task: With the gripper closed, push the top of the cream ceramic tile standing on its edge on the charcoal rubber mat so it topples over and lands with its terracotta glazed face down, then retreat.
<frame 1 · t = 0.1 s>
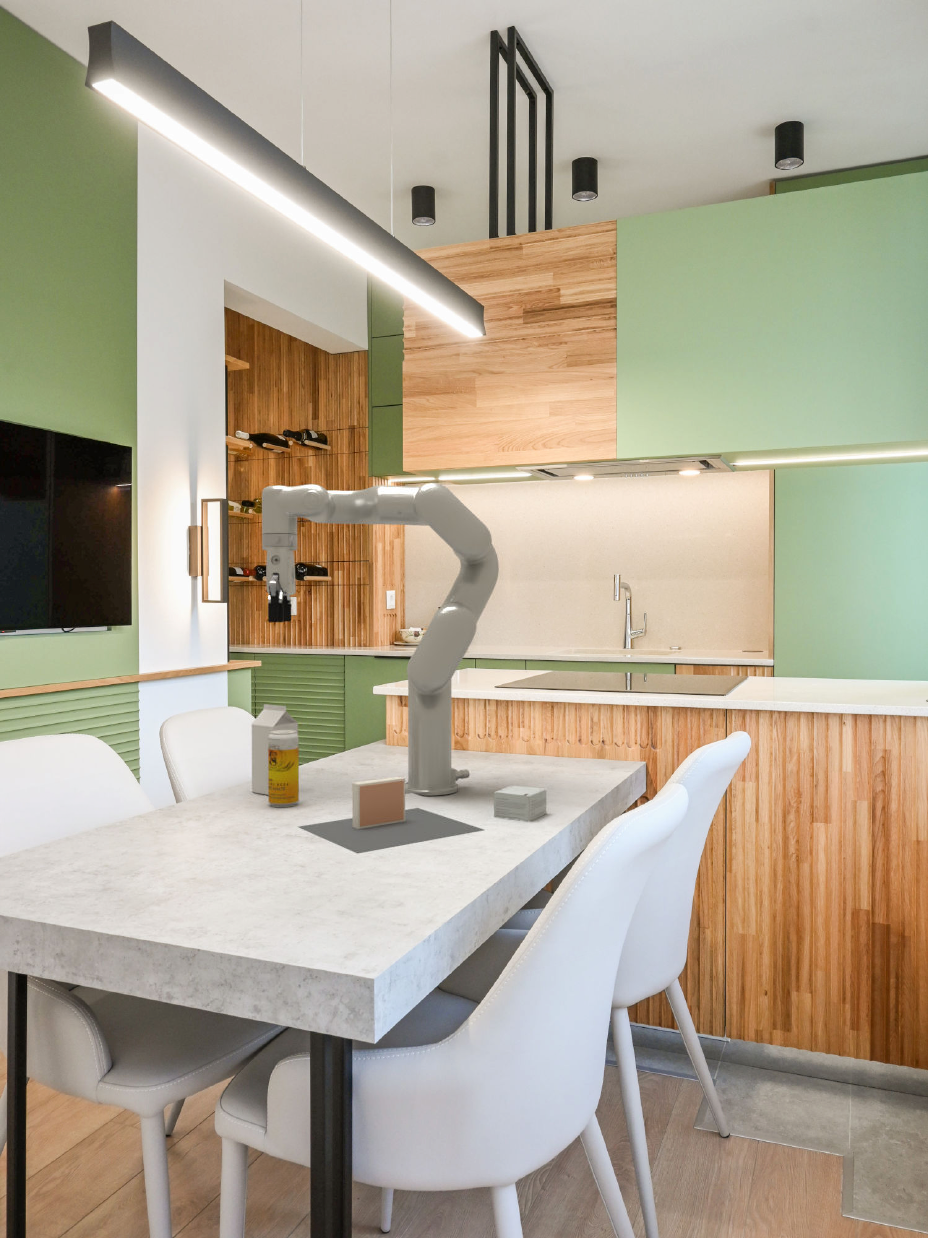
hand: (280, 621, 199), 37 cm above the table, tool pointing down, fingers open, 9 cm apart
tile: (379, 824, 167), point 1 cm above the table, touching mat
beer can: (283, 805, 186), on the table
milk carton: (275, 793, 199), on the table
small box: (520, 817, 177), on the table
mat: (390, 831, 164), on the table
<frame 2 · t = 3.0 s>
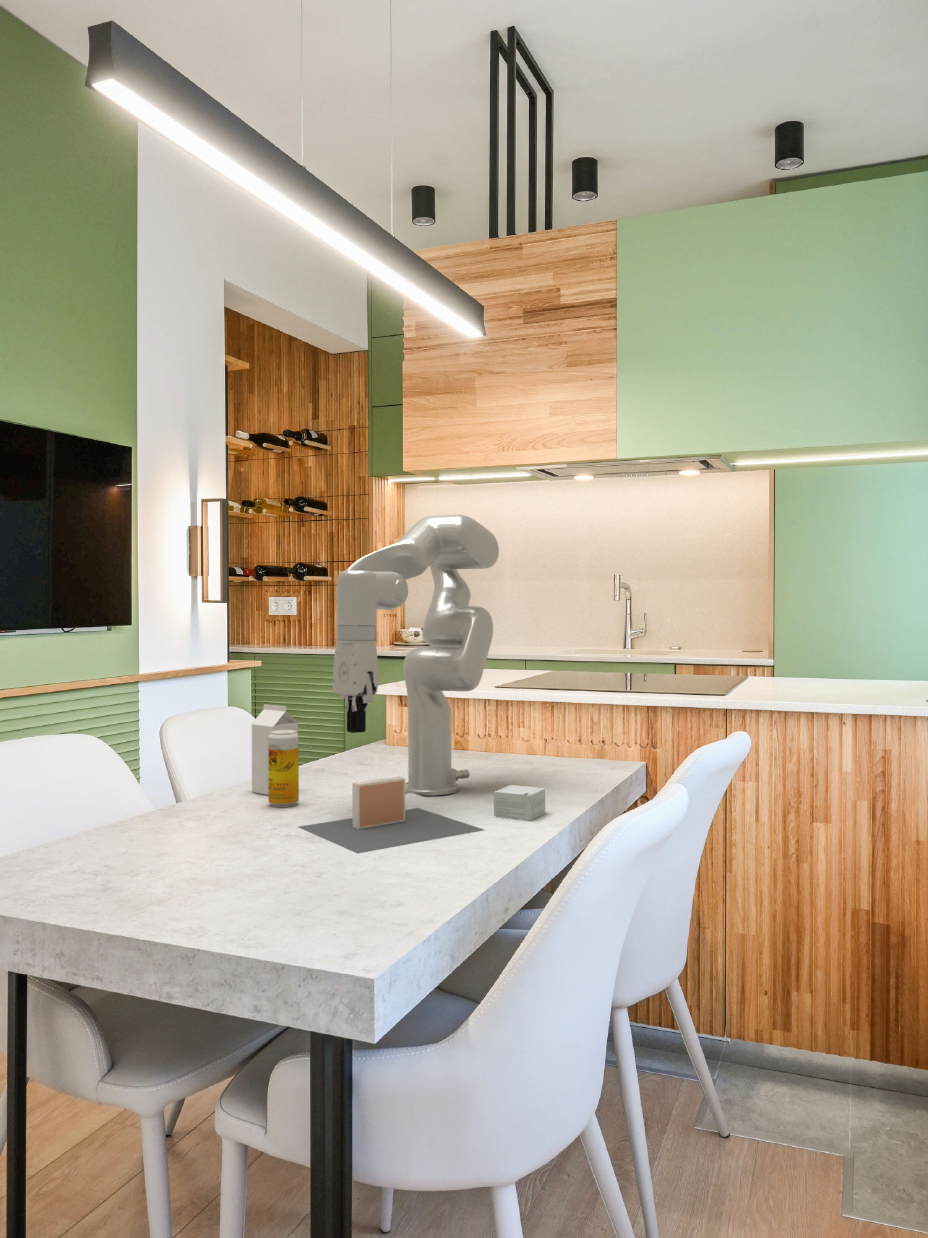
hand: (356, 731, 173), 17 cm above the table, tool pointing down, fingers closed
nothing on the table moved.
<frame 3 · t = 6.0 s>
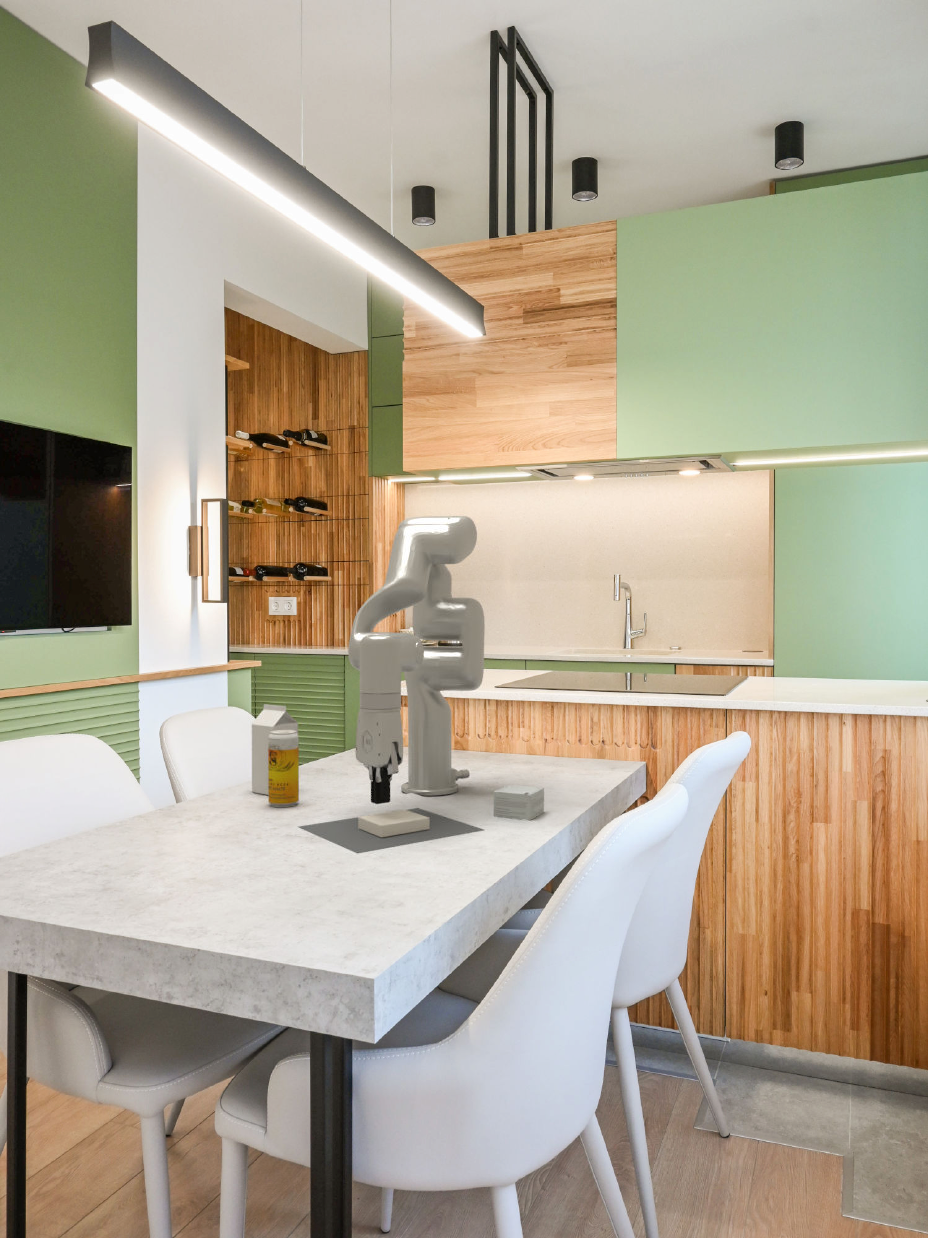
hand: (380, 802, 167), 5 cm above the table, tool pointing down, fingers closed
tile: (382, 818, 166), point 2 cm above the table, tilted 90°, touching mat
everything else where it was.
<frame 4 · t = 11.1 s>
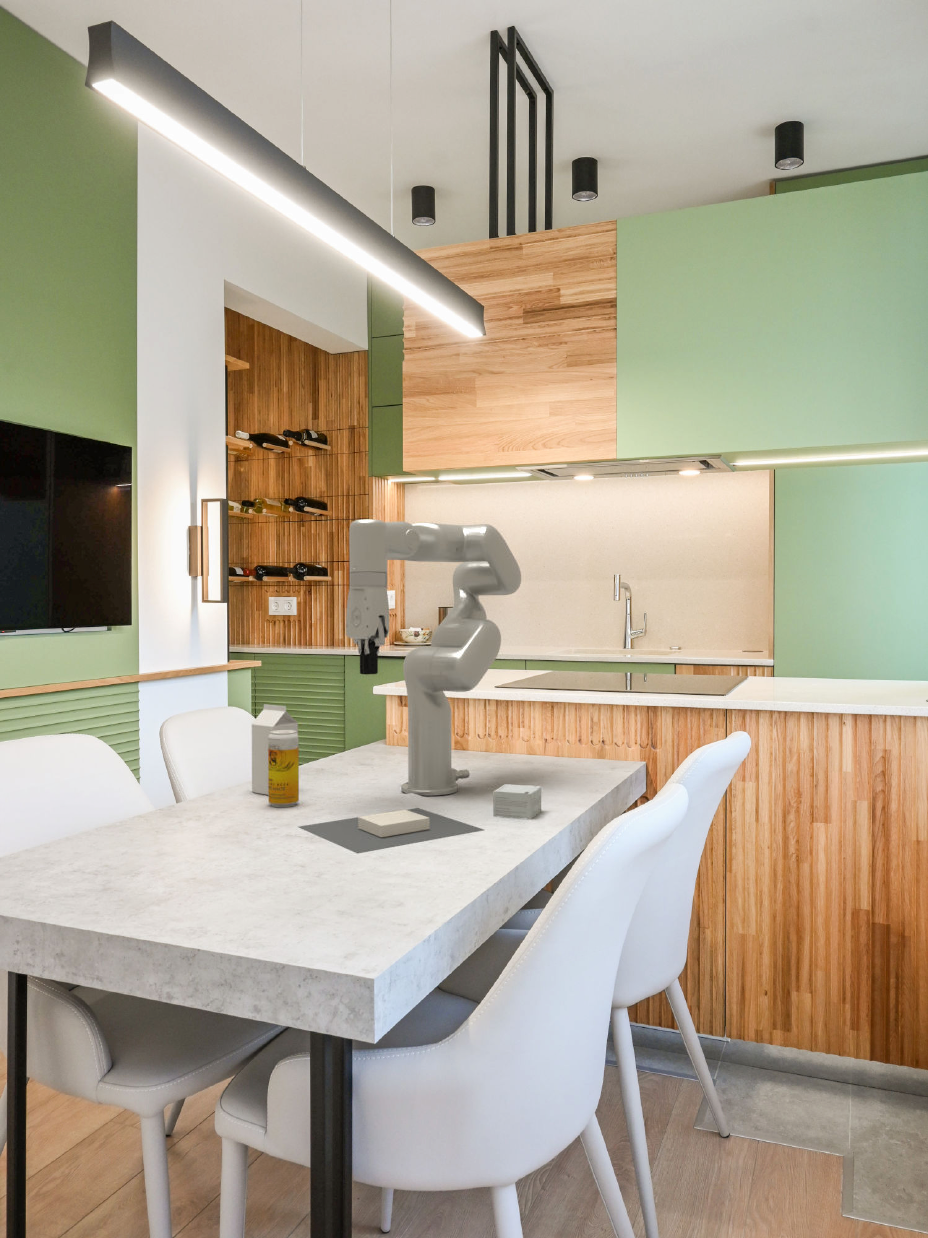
hand: (368, 673, 182), 27 cm above the table, tool pointing down, fingers closed
at the end: tile tilted 90°; tile inside the target area (3.4 cm from its centre), point 1.7 cm above the table; the gripper is holding nothing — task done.
